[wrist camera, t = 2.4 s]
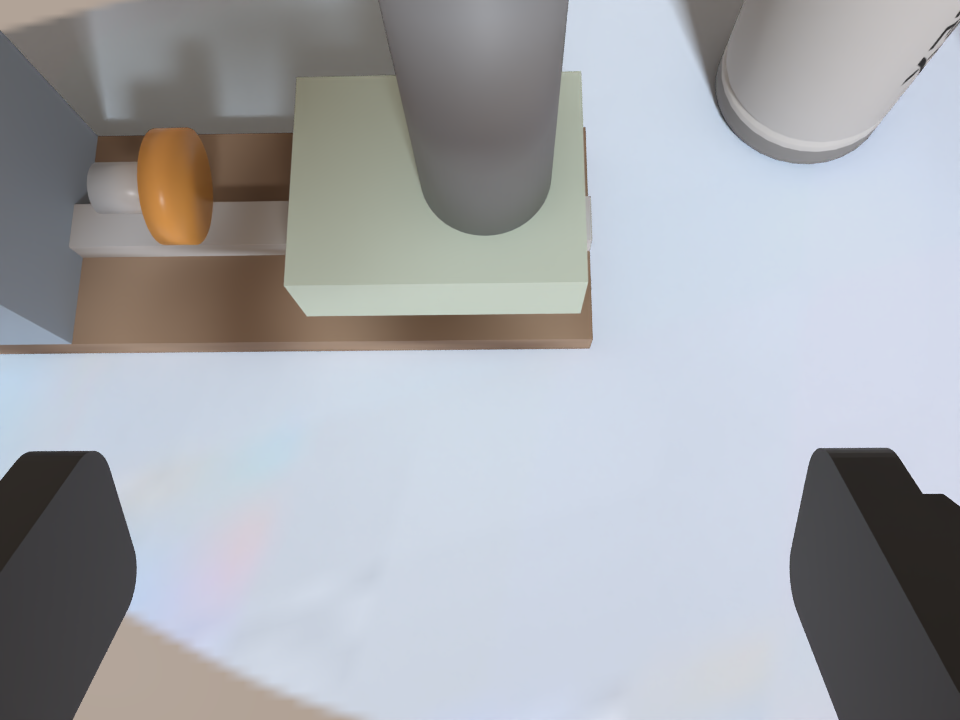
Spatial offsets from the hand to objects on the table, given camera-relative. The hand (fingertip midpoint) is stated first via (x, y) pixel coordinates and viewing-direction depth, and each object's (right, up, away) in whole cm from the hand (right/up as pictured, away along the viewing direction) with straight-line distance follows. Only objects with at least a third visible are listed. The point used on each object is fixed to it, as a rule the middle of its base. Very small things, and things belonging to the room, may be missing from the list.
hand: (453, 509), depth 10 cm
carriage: (-1, +7, +19) cm, 20 cm away
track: (-7, +6, +22) cm, 24 cm away
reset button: (-10, +7, +19) cm, 22 cm away
